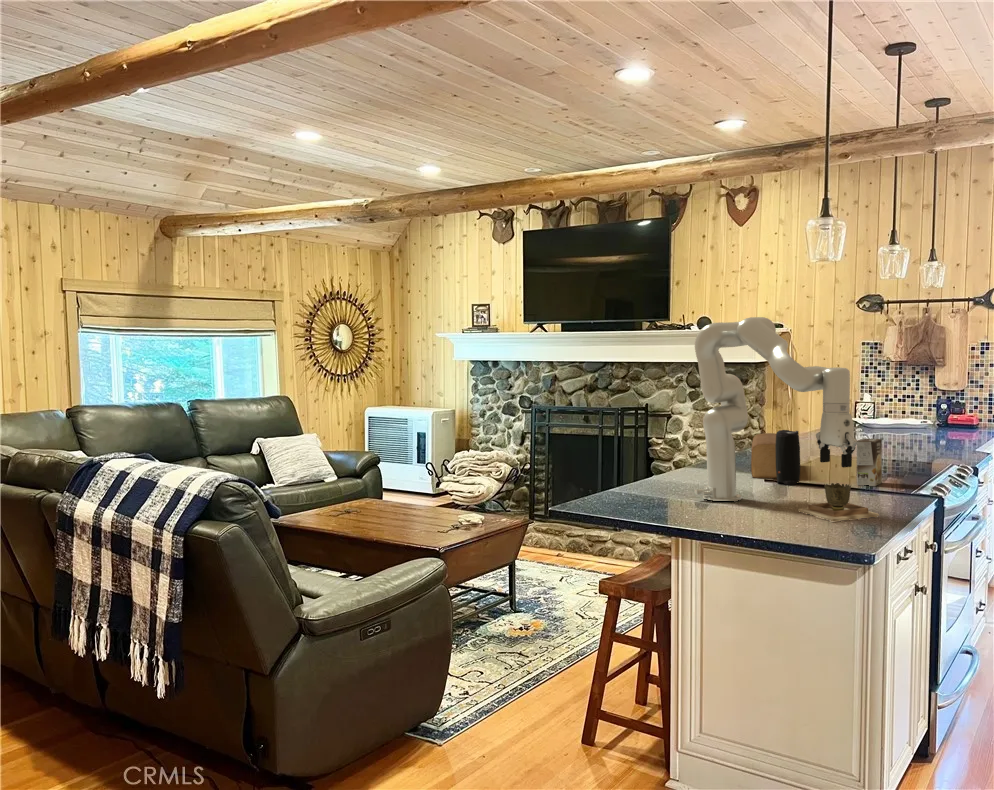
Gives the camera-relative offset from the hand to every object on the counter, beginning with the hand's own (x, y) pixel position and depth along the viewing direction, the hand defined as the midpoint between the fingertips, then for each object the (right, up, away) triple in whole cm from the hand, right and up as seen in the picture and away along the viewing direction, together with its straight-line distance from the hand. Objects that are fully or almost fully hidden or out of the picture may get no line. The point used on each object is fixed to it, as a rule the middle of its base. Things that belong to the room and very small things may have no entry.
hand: (835, 464), depth 246 cm
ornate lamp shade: (+1, -14, +1) cm, 15 cm away
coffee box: (+32, -11, +46) cm, 57 cm away
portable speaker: (+5, -12, +54) cm, 55 cm away
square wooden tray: (+1, -15, +1) cm, 15 cm away
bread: (+7, -10, +82) cm, 83 cm away
